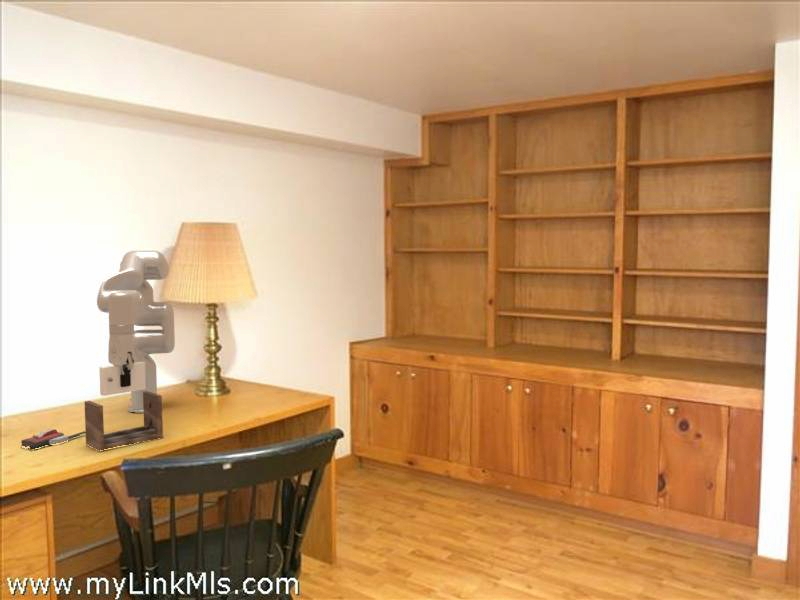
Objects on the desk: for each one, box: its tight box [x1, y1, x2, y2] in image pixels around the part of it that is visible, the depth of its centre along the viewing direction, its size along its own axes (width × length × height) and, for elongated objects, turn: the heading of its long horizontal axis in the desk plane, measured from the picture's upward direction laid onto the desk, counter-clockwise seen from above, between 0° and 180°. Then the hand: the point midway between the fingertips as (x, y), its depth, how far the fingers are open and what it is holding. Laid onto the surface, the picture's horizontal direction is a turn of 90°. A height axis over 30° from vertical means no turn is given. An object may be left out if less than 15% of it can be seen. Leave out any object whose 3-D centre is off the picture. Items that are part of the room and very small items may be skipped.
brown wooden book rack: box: [84, 391, 164, 451], centre depth 219 cm, size 21×10×14 cm, turn 137°
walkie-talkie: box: [20, 428, 86, 450], centre depth 219 cm, size 9×4×20 cm
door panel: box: [99, 362, 146, 397], centre depth 218 cm, size 14×4×9 cm, turn 137°
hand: (123, 385), depth 218 cm, fingers closed on door panel, 2 cm apart
